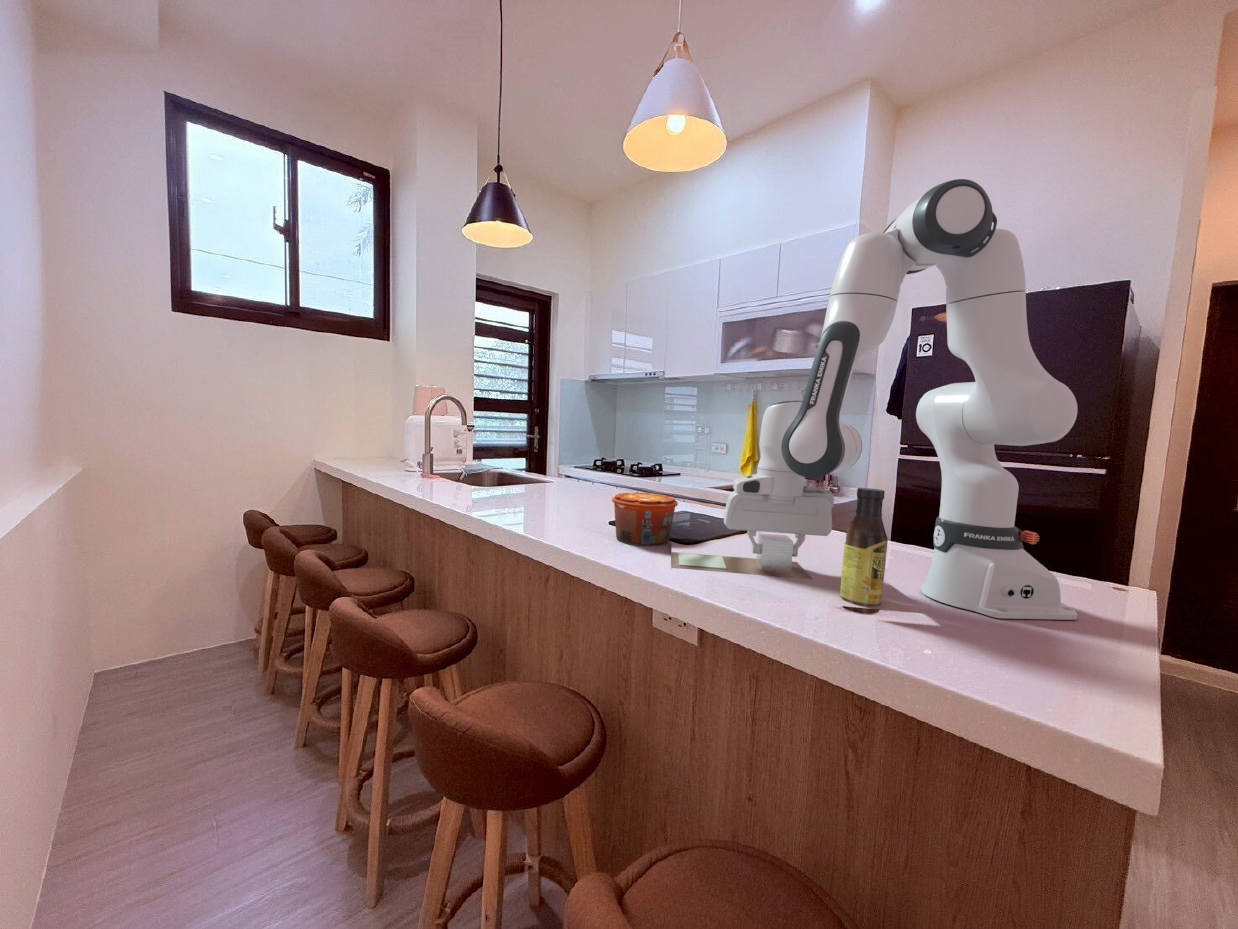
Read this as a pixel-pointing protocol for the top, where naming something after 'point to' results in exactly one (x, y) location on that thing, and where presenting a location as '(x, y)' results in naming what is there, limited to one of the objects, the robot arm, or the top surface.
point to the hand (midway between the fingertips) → (774, 554)
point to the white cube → (775, 553)
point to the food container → (643, 518)
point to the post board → (730, 565)
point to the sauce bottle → (865, 553)
